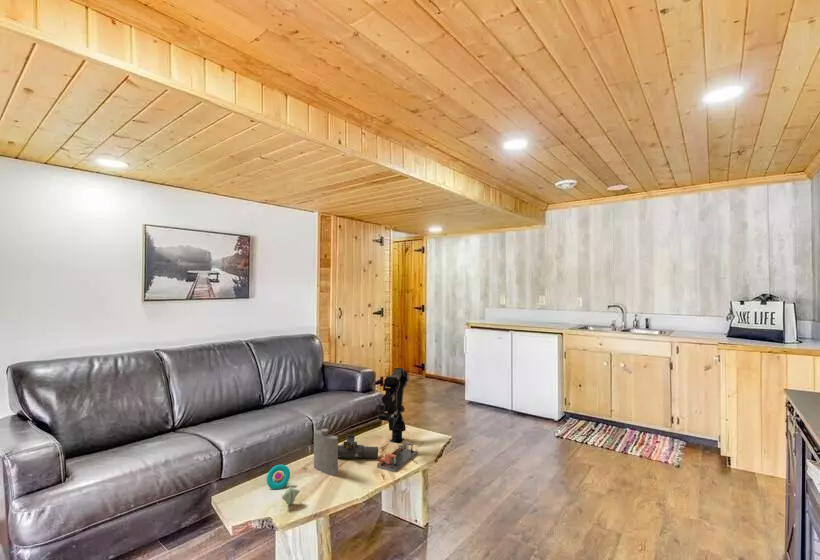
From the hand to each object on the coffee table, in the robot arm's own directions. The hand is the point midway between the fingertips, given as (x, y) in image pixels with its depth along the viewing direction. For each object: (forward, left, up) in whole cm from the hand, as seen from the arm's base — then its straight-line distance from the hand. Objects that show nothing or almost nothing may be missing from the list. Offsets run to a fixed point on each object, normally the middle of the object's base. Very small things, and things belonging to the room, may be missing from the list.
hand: (391, 428), depth 222 cm
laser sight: (+17, -12, -12) cm, 24 cm away
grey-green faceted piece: (+66, -9, -12) cm, 68 cm away
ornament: (+57, -25, -12) cm, 63 cm away
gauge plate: (+9, +9, -12) cm, 18 cm away
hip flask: (+36, -16, -12) cm, 41 cm away
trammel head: (+17, +8, -10) cm, 21 cm away
